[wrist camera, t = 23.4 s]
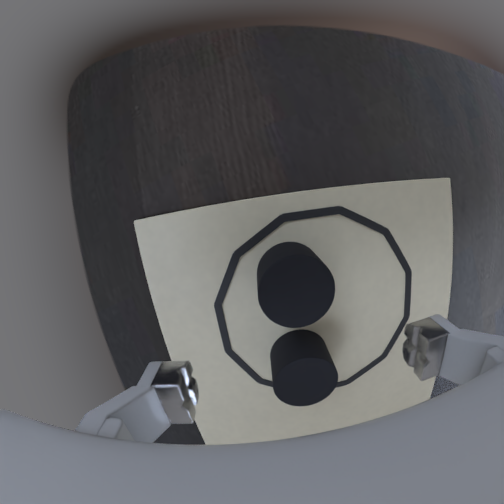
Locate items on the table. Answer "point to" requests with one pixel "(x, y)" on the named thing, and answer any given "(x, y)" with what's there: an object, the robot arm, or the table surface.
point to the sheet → (328, 327)
